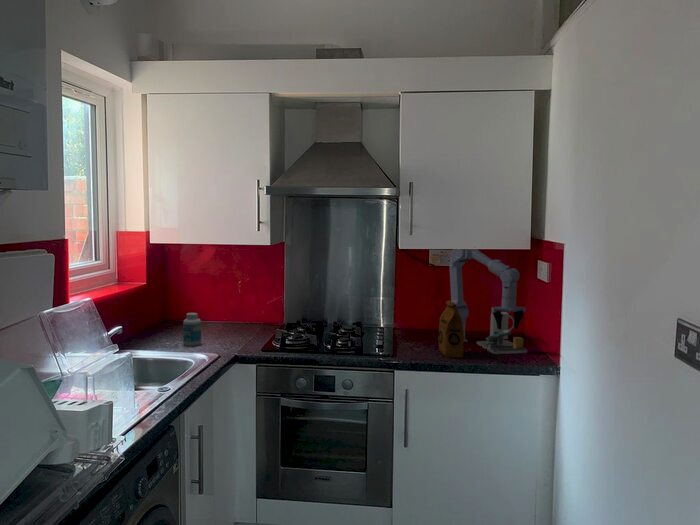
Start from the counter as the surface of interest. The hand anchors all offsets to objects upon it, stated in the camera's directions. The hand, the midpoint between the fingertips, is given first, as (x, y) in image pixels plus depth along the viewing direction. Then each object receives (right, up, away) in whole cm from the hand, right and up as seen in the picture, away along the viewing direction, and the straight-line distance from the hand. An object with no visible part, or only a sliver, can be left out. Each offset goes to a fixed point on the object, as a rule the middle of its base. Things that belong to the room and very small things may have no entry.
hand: (507, 328), depth 227 cm
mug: (+5, -8, +27) cm, 29 cm away
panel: (-1, -9, +6) cm, 11 cm away
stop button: (-5, -6, +5) cm, 10 cm away
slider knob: (+5, -9, +1) cm, 10 cm away
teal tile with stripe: (-1, -5, +12) cm, 12 cm away
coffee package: (-25, -10, -6) cm, 28 cm away
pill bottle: (-136, -8, +4) cm, 136 cm away
